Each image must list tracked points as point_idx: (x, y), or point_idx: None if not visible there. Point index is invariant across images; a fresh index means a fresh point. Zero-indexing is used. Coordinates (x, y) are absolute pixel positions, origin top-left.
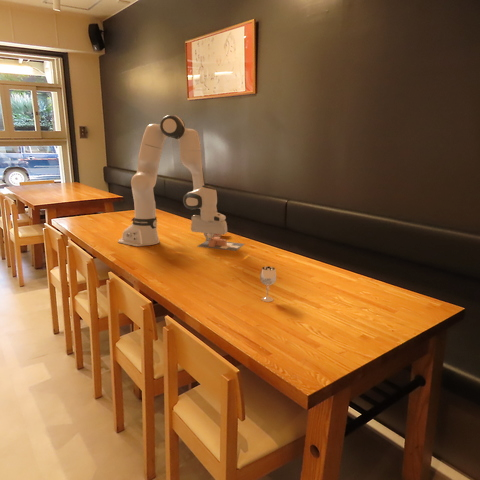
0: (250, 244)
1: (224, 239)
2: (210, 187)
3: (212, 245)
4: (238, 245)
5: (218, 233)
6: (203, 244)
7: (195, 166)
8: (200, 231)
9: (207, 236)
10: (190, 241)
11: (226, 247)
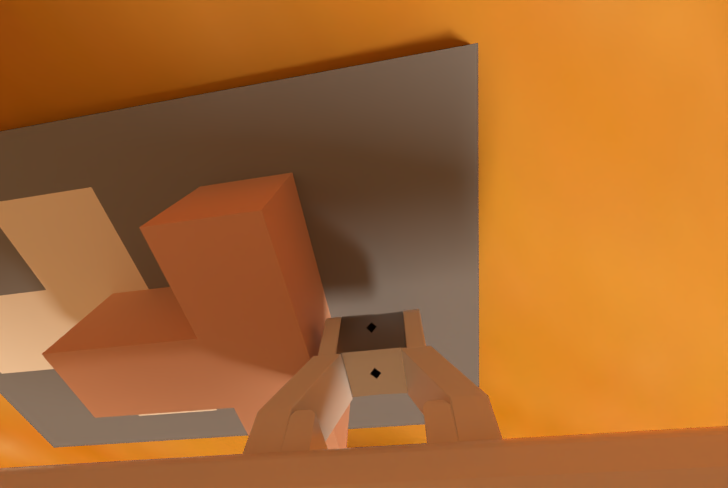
0: (47, 460)
1: (122, 409)
2: None
3: (210, 192)
4: (36, 385)
5: (15, 484)
6: (428, 225)
7: None
8: (642, 459)
9: (417, 397)
10: (710, 305)
11: (43, 256)
